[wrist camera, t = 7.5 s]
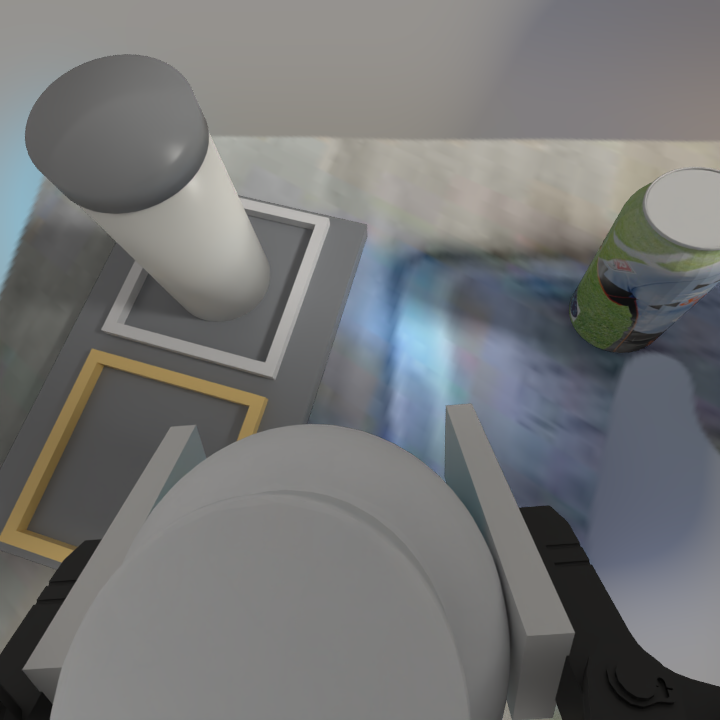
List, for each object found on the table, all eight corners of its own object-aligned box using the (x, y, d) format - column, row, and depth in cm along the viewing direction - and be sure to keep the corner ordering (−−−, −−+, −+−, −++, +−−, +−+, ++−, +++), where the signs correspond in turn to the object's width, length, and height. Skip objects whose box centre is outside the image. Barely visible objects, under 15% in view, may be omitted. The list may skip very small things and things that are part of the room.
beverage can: (636, 372, 30) (798, 297, 18) (534, 330, 31) (628, 234, 20) (660, 298, 32) (823, 186, 20) (562, 260, 33) (664, 134, 21)
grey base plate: (367, 236, 34) (366, 217, 32) (242, 624, 26) (230, 636, 24) (159, 188, 36) (145, 168, 34) (-15, 535, 28) (-47, 539, 26)
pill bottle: (269, 449, 19) (36, 355, 6) (440, 464, 18) (588, 397, 5) (240, 645, 17) (-225, 1166, 4) (433, 667, 16) (653, 1350, 3)
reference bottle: (285, 246, 32) (221, 70, 19) (251, 334, 30) (153, 207, 17) (196, 225, 33) (73, 42, 19) (158, 309, 31) (-8, 169, 17)
